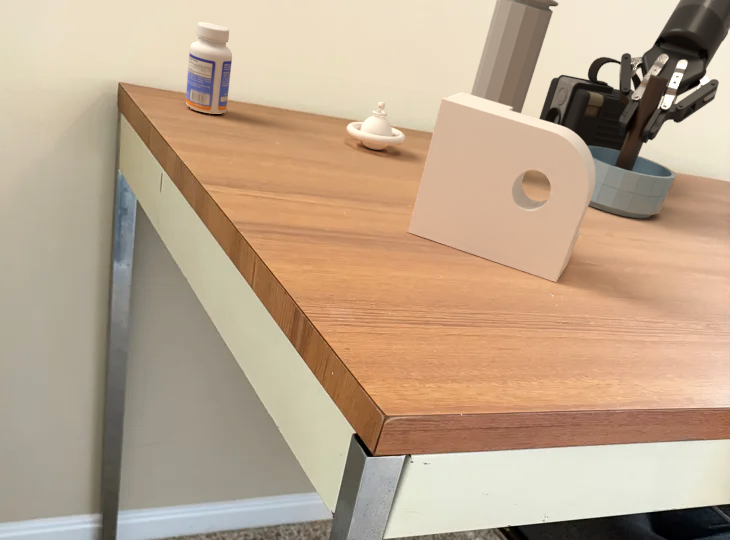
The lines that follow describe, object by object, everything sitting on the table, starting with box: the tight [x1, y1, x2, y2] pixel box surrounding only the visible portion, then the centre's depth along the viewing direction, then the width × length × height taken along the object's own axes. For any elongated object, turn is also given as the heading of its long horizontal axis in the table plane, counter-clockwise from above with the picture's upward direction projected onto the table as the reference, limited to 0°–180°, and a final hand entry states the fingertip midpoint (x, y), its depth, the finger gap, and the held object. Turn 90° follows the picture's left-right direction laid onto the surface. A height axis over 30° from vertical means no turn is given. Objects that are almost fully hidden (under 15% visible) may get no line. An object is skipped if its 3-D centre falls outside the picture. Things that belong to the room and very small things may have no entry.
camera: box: [538, 56, 642, 151], centre depth 122 cm, size 11×14×15 cm
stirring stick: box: [613, 75, 669, 172], centre depth 108 cm, size 4×4×12 cm
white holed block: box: [407, 91, 596, 283], centre depth 84 cm, size 16×10×13 cm, turn 66°
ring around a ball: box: [346, 101, 406, 151], centre depth 110 cm, size 8×6×8 cm
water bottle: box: [470, 0, 559, 114], centre depth 108 cm, size 9×8×25 cm
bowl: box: [588, 145, 677, 219], centre depth 112 cm, size 13×13×6 cm
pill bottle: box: [185, 21, 233, 114], centre depth 106 cm, size 5×5×10 cm
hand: (633, 134), depth 107 cm, fingers closed on stirring stick, 2 cm apart
